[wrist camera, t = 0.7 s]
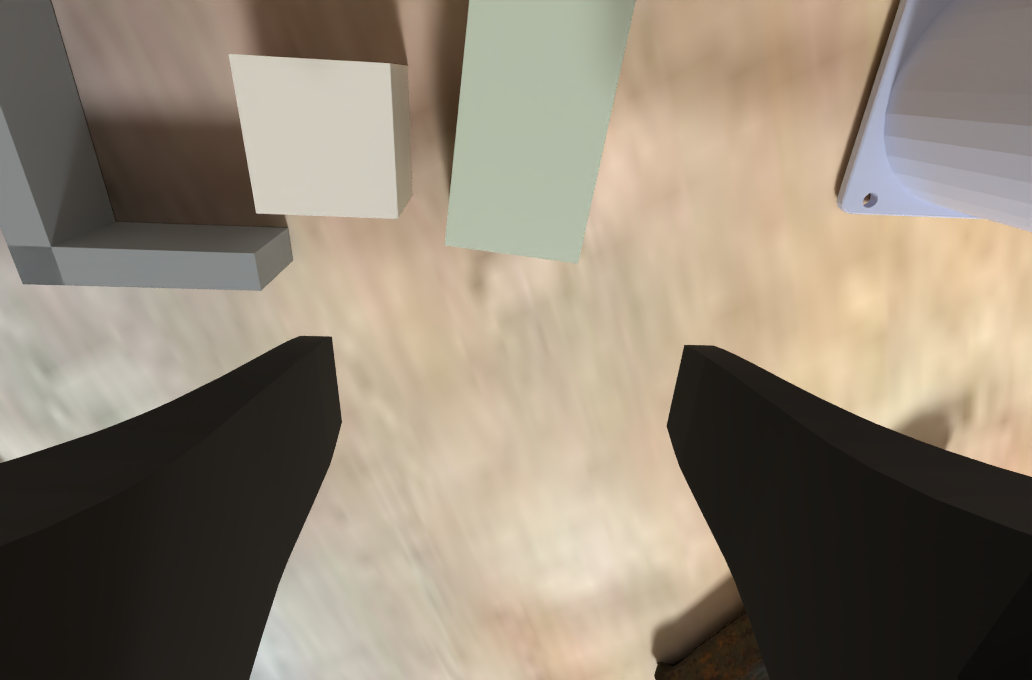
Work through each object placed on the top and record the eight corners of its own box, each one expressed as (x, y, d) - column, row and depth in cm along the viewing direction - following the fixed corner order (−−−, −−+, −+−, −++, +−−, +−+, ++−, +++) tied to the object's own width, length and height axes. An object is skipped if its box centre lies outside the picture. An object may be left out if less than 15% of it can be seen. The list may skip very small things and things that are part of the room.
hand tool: (690, 682, 33) (721, 770, 28) (644, 661, 31) (670, 750, 27) (959, 490, 26) (1048, 568, 22) (916, 454, 25) (1002, 529, 21)
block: (408, 65, 16) (390, 63, 13) (413, 194, 18) (398, 218, 15) (278, 58, 16) (228, 54, 13) (296, 189, 18) (256, 213, 15)
